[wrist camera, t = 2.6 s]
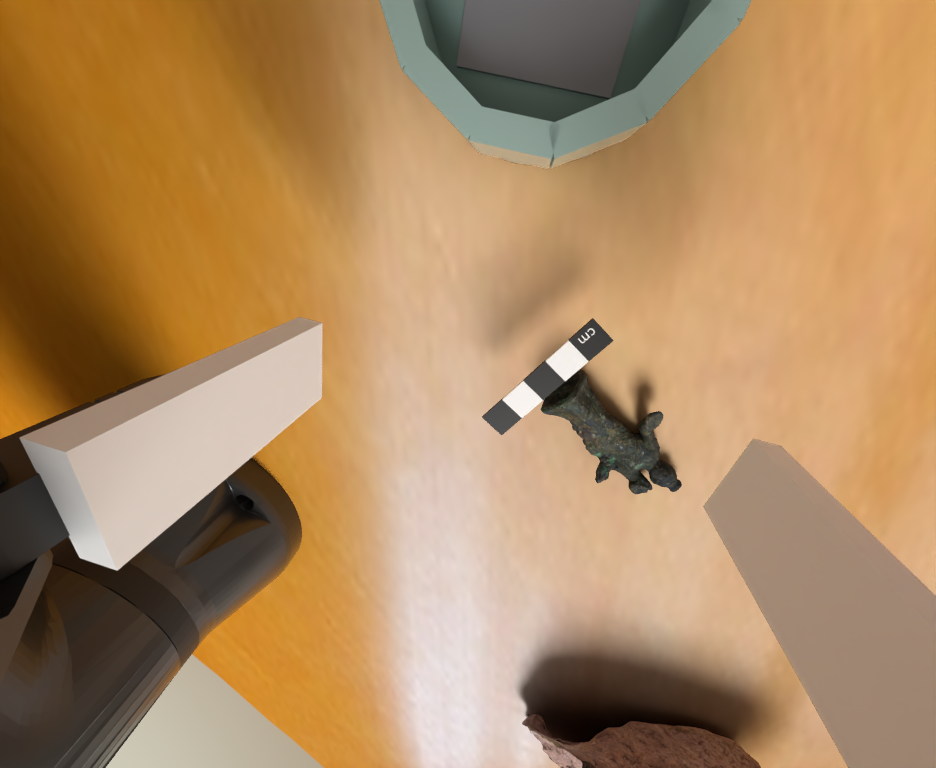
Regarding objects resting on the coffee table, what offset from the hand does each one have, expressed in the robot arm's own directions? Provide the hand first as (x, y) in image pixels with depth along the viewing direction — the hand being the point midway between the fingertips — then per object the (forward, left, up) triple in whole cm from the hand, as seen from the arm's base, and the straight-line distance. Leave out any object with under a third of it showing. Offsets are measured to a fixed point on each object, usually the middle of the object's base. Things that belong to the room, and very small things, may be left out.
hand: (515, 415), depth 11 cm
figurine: (0, 0, -7) cm, 7 cm away
